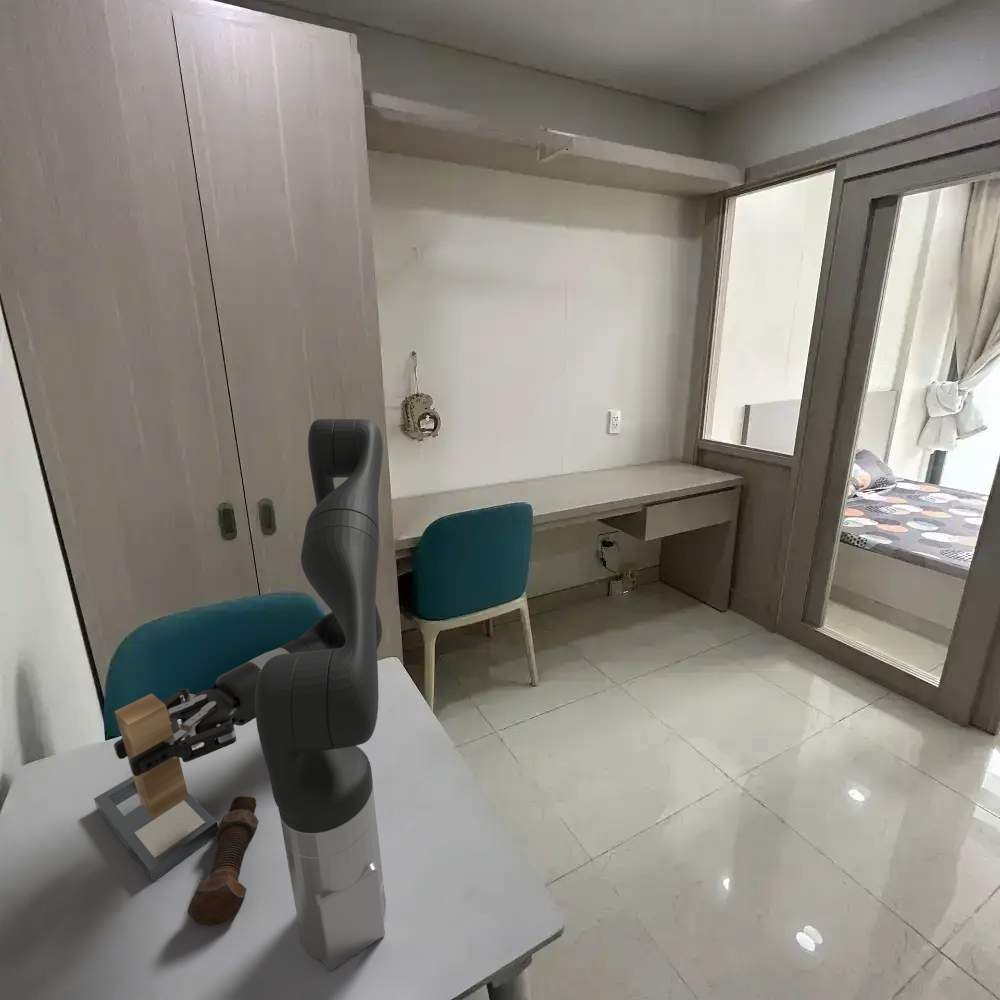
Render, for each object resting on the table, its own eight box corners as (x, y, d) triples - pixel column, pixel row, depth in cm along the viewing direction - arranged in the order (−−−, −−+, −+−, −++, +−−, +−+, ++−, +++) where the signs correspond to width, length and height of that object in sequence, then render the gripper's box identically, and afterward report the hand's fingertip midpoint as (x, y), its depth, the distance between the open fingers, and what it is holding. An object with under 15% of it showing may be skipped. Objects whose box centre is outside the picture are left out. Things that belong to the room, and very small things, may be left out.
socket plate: (219, 833, 68) (216, 820, 67) (152, 882, 62) (149, 868, 61) (159, 772, 78) (156, 760, 78) (97, 809, 72) (93, 797, 71)
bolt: (254, 822, 72) (227, 932, 58) (217, 815, 70) (180, 926, 56) (271, 788, 71) (249, 890, 57) (234, 779, 70) (202, 883, 55)
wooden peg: (188, 796, 66) (166, 705, 62) (154, 819, 63) (128, 724, 59) (174, 782, 68) (151, 693, 64) (140, 803, 65) (114, 711, 61)
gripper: (230, 646, 77) (93, 711, 64) (284, 679, 69) (142, 761, 56) (238, 688, 79) (108, 759, 66) (292, 725, 71) (156, 814, 58)
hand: (124, 760), depth 61 cm, fingers closed on wooden peg, 4 cm apart
